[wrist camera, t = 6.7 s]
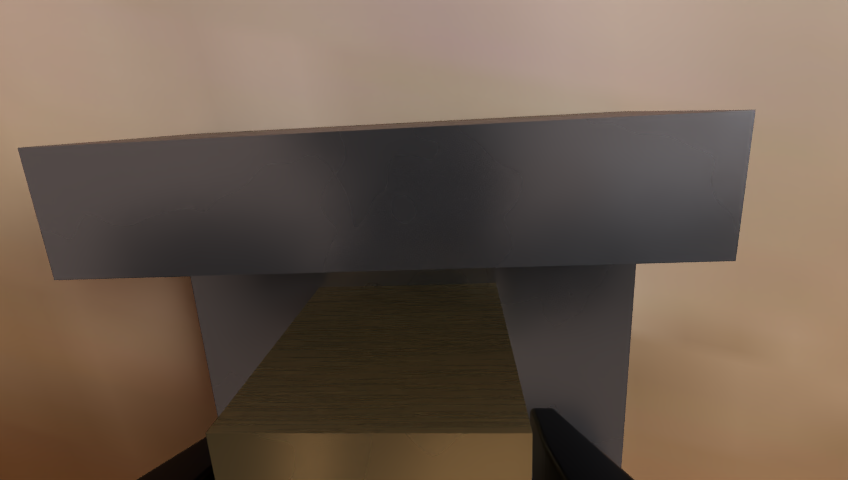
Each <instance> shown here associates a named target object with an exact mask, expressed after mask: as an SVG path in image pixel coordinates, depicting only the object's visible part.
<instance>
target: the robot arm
mask: <svg viewBox="0 0 848 480" xmlns="http://www.w3.org/2000/svg"><path fill="white" fill-rule="evenodd" d="M530 425H531V429H532V433H533V441H532V473H533V480H634V479H633V478H632V477H630V476H629V475H628V474H627V473H626V472H625V471H624V470H623V469H621V468H620V467H619V466H618V465H617V464H616V463H615V462H613V461H612V460H611V459H610V458H609V457H608V456H607V455H606V454H604V453H603V452H602V451H601V450H600V449H599V448H598V447H597V446H595V445H594V444H593V443H592V442H591V441H590V440H589V439H587V438H586V437H585V436H584V435H583V434H582V433H581V432H580V431H578V430H577V429H576V428H575V427H574V426H573V425H572V424H570V423H569V422H568V421H567V420H566V419H565V418H564V417H563V416H561V415H560V414H559V413H558V412H557V411H556V410H554V409H553V408H533V409H531V411H530ZM137 480H215V477H214V472H213V467H212V462H211V457H210V452H209V447H208V443H207V438H206V437H205V438H203V439H202V440H200V441H199V442H197V443H195V444H194V445H192V446H191V447H189V448H187V449H186V450H184V451H182V452H181V453H179V454H178V455H176V456H174V457H173V458H171V459H169V460H168V461H166V462H165V463H163V464H161V465H160V466H158V467H156V468H155V469H153V470H152V471H150V472H148V473H147V474H145V475H144V476H142V477H140V478H139V479H137Z"/></svg>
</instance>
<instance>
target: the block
mask: <svg viewBox="0 0 848 480" xmlns="http://www.w3.org/2000/svg"><path fill="white" fill-rule="evenodd" d="M206 438H207V443H208V447H209V452H210V457H211V462H212V467H213V472H214V477H215V480H532V441H533V433H532V429H531V425H530V421H529V417H528V413H527V408H526V404H525V400H524V396H523V392H522V388H521V384H520V380H519V376H518V372H517V367H516V363H515V359H514V355H513V351H512V347H511V343H510V339H509V335H508V331H507V327H506V322H505V318H504V314H503V310H502V306H501V302H500V298H499V294H498V290H497V286H496V283H478V284H436V285H395V286H353V287H319V288H318V290H317V291H316V292H315V294H314V295H313V296H312V297H311V299H310V300H309V301H308V303H307V304H306V305H305V306H304V308H303V309H302V310H301V312H300V313H299V314H298V315H297V317H296V318H295V319H294V321H293V322H292V323H291V324H290V326H289V327H288V328H287V330H286V331H285V332H284V333H283V335H282V336H281V337H280V339H279V340H278V341H277V342H276V344H275V345H274V346H273V348H272V349H271V350H270V351H269V353H268V354H267V355H266V357H265V358H264V359H263V360H262V362H261V363H260V364H259V366H258V367H257V368H256V369H255V371H254V372H253V373H252V375H251V376H250V377H249V378H248V380H247V381H246V382H245V384H244V385H243V386H242V387H241V389H240V390H239V391H238V393H237V394H236V395H235V396H234V398H233V399H232V400H231V401H230V403H229V404H228V405H227V407H226V408H225V409H224V410H223V412H222V413H221V414H220V416H219V417H218V418H217V419H216V421H215V422H214V423H213V425H212V426H211V427H210V428H209V430H208V431H207V432H206Z"/></svg>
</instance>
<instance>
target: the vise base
mask: <svg viewBox="0 0 848 480" xmlns="http://www.w3.org/2000/svg"><path fill="white" fill-rule="evenodd" d="M754 117H755V110H701V111H624V112H604V113H585V114H566V115H547V116H528V117H509V118H490V119H471V120H452V121H433V122H413V123H394V124H375V125H356V126H337V127H318V128H299V129H280V130H261V131H242V132H223V133H203V134H187V135H175V136H162V137H149V138H137V139H124V140H111V141H99V142H86V143H73V144H61V145H48V146H35V147H22V148H18V151H19V155H20V158H21V162H22V165H23V169H24V173H25V176H26V180H27V183H28V187H29V191H30V194H31V198H32V201H33V205H34V209H35V212H36V216H37V219H38V223H39V227H40V230H41V234H42V237H43V241H44V245H45V248H46V252H47V255H48V259H49V263H50V266H51V270H52V273H53V277H54V280H74V279H109V278H145V277H180V276H190V277H191V282H192V287H193V292H194V297H195V302H196V307H197V313H198V318H199V323H200V328H201V333H202V338H203V343H204V348H205V354H206V359H207V364H208V369H209V374H210V379H211V384H212V389H213V394H214V400H215V405H216V410H217V415H218V417H219V416H220V414H221V413H222V412H223V410H224V409H225V408H226V407H227V405H228V404H229V403H230V401H231V400H232V399H233V398H234V396H235V395H236V394H237V393H238V391H239V390H240V389H241V387H242V386H243V385H244V384H245V382H246V381H247V380H248V378H249V377H250V376H251V375H252V373H253V372H254V371H255V369H256V368H257V367H258V366H259V364H260V363H261V362H262V360H263V359H264V358H265V357H266V355H267V354H268V353H269V351H270V350H271V349H272V348H273V346H274V345H275V344H276V342H277V341H278V340H279V339H280V337H281V336H282V335H283V333H284V332H285V331H286V330H287V328H288V327H289V326H290V324H291V323H292V322H293V321H294V319H295V318H296V317H297V315H298V314H299V313H300V312H301V310H302V309H303V308H304V306H305V305H306V304H307V303H308V301H309V300H310V299H311V297H312V296H313V295H314V294H315V292H316V291H317V290H318V288H319V287H353V286H395V285H436V284H478V283H496V286H497V290H498V294H499V298H500V302H501V306H502V310H503V314H504V318H505V322H506V327H507V331H508V335H509V339H510V343H511V347H512V351H513V355H514V359H515V363H516V367H517V372H518V376H519V380H520V384H521V388H522V392H523V396H524V400H525V404H526V408H527V413H528V417H529V421H530V411H531V409H533V408H553V409H554V410H556V411H557V412H558V413H559V414H560V415H561V416H563V417H564V418H565V419H566V420H567V421H568V422H569V423H570V424H572V425H573V426H574V427H575V428H576V429H577V430H578V431H580V432H581V433H582V434H583V435H584V436H585V437H586V438H587V439H589V440H590V441H591V442H592V443H593V444H594V445H595V446H597V447H598V448H599V449H600V450H601V451H602V452H603V453H604V454H606V455H607V456H608V457H609V458H610V459H611V460H612V461H613V462H615V463H616V464H617V465H618V466H619V467H620V468H621V463H622V449H623V436H624V422H625V408H626V394H627V380H628V367H629V353H630V339H631V325H632V311H633V298H634V284H635V270H636V264H642V263H677V262H713V261H736V254H737V246H738V239H739V231H740V224H741V216H742V208H743V201H744V193H745V186H746V178H747V170H748V163H749V155H750V148H751V140H752V132H753V125H754ZM532 480H533V473H532Z"/></svg>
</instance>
